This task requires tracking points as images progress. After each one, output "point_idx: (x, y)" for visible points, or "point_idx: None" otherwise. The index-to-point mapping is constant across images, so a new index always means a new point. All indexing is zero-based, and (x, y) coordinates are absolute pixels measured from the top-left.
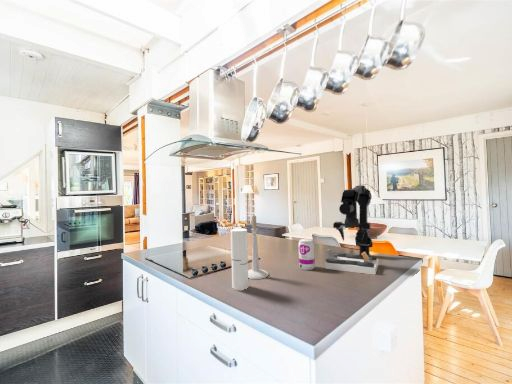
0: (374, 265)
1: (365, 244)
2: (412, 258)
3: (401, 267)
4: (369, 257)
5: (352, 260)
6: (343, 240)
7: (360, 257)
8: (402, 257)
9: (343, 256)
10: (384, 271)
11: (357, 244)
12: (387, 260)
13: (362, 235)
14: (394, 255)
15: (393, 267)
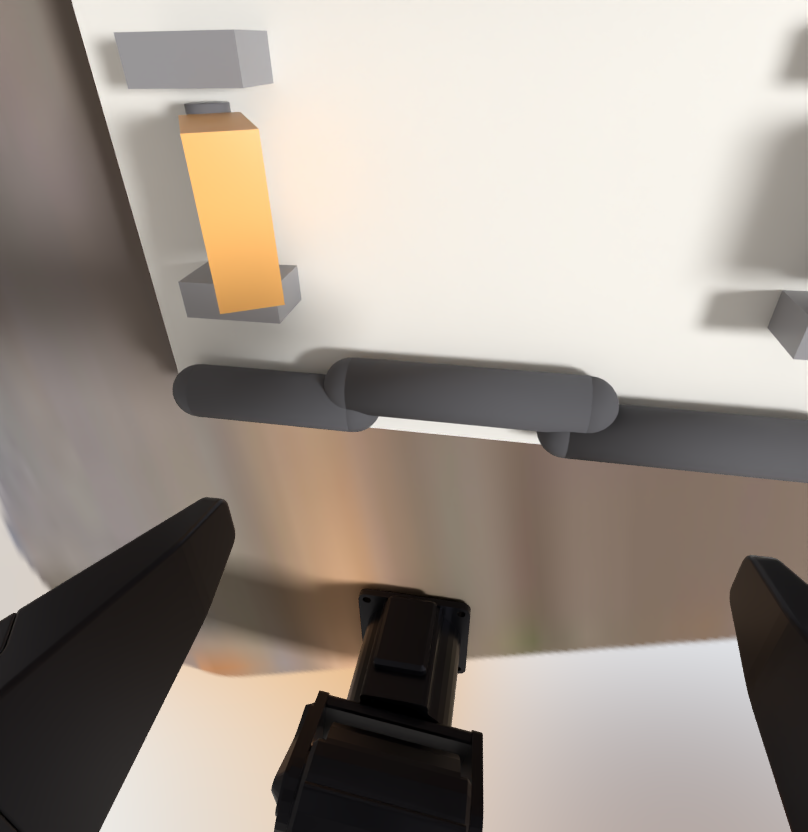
0: (103, 31)
1: (362, 730)
2: None
3: (17, 356)
4: None
5: (493, 238)
6: (756, 556)
7: (378, 363)
8: None
9: (651, 407)
10: (69, 106)
11: (466, 756)
12: None
13: (21, 627)
14: (205, 665)
15: (70, 331)
